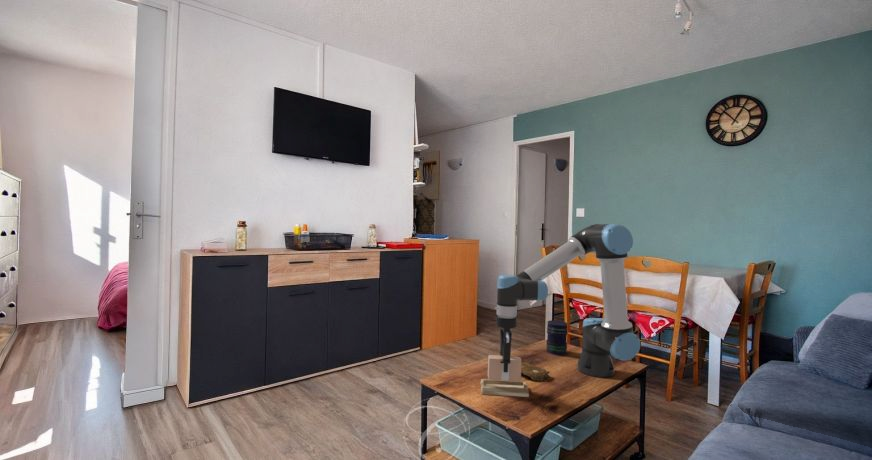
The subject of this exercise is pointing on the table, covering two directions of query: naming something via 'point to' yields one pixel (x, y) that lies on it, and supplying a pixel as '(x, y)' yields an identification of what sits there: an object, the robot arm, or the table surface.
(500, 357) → the clay block
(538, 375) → the decorative rock
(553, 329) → the storage jar
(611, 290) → the robot arm
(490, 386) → the cream rectangular tray
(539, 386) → the table surface
